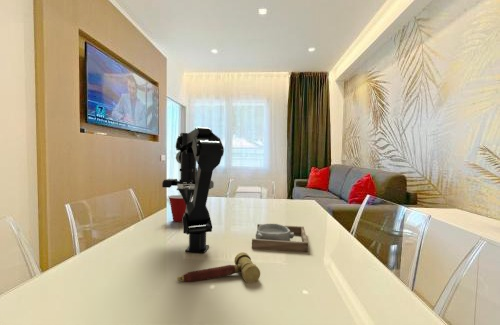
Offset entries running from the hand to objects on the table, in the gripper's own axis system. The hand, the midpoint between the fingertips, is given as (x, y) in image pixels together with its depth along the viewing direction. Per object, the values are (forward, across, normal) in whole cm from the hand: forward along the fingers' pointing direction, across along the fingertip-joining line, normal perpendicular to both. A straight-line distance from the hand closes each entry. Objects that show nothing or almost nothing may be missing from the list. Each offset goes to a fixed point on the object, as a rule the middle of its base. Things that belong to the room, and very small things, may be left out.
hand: (187, 206), depth 104 cm
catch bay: (+12, -35, -3) cm, 37 cm away
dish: (+12, -33, -3) cm, 35 cm away
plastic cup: (+12, +12, -22) cm, 28 cm away
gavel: (+13, -20, +30) cm, 38 cm away
